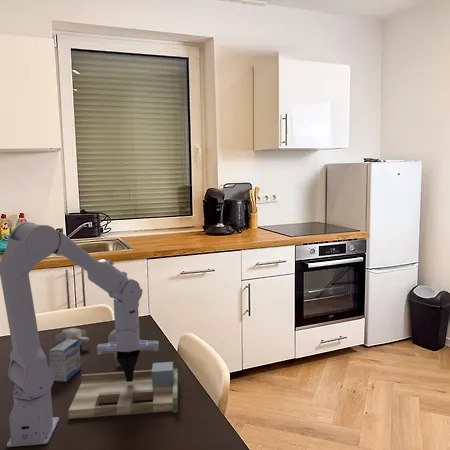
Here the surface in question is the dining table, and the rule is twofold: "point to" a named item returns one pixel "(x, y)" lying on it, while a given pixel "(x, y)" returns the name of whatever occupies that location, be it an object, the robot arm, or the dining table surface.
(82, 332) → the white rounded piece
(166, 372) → the slate block
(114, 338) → the lightbulb
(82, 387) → the tray
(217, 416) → the dining table surface
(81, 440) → the dining table surface
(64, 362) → the medicine box
